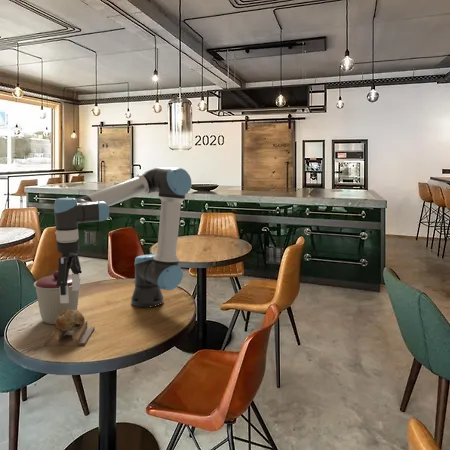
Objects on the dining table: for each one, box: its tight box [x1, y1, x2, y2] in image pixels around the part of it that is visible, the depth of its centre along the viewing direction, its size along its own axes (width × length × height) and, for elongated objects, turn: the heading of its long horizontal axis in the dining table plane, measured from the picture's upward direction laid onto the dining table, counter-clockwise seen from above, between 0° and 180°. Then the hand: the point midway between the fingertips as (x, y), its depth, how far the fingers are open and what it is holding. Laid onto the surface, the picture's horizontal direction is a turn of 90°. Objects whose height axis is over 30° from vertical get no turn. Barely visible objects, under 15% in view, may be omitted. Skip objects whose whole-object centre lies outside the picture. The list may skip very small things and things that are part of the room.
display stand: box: [44, 319, 96, 347], centre depth 147 cm, size 14×14×4 cm
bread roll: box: [55, 309, 86, 331], centre depth 146 cm, size 10×10×8 cm
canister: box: [33, 270, 82, 325], centre depth 162 cm, size 18×18×21 cm
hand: (70, 296), depth 145 cm, fingers open, 13 cm apart
